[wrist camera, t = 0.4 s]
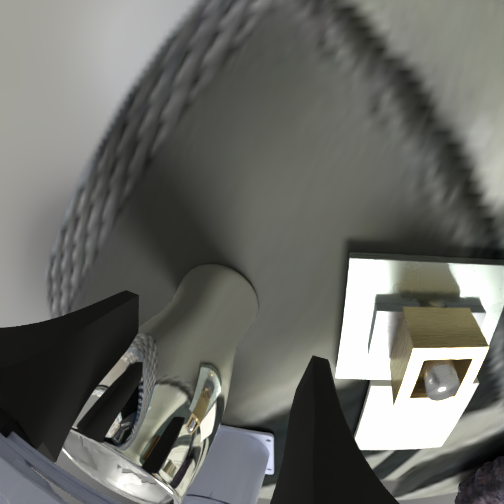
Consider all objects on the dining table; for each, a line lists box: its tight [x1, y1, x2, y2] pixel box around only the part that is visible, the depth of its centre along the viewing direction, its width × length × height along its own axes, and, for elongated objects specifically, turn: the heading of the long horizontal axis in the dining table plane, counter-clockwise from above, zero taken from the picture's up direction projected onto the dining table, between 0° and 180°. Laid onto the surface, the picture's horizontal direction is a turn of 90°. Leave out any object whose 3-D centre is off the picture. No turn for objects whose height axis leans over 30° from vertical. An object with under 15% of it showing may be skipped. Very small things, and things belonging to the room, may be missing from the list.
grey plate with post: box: [335, 252, 504, 401], centre depth 17 cm, size 10×12×7 cm
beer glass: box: [61, 264, 258, 504], centre depth 17 cm, size 7×7×15 cm
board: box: [354, 377, 479, 450], centre depth 24 cm, size 10×10×1 cm
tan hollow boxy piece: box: [389, 307, 489, 407], centre depth 17 cm, size 5×5×4 cm
